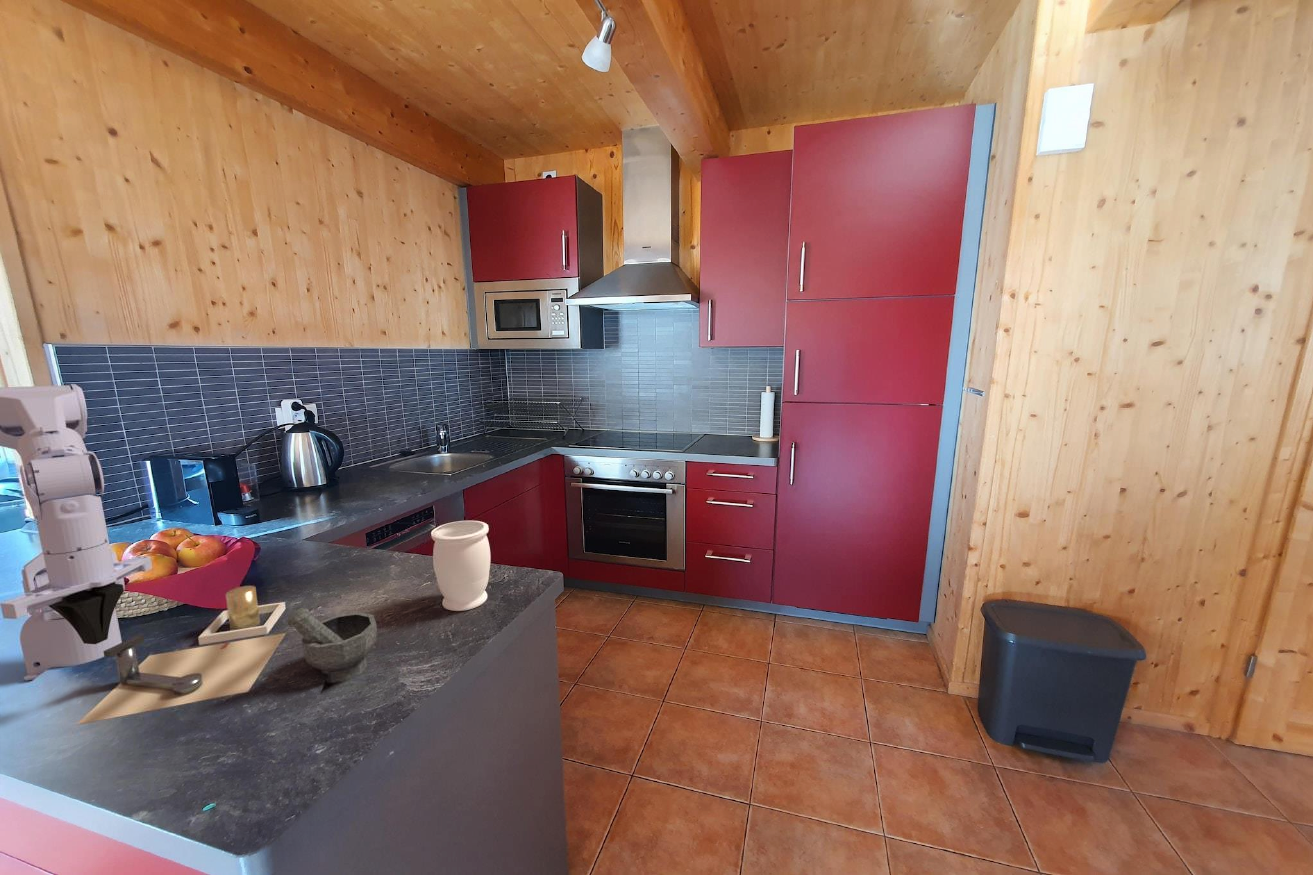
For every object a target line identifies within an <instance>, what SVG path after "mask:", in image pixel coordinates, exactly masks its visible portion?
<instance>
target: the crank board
mask: <svg viewBox="0 0 1313 875" xmlns="http://www.w3.org/2000/svg"><path fill="white" fill-rule="evenodd" d="M286 634H287V633H286V632H284V633H279V634H272V635H266V636H259V637H254V638H249V639H242V640H237V641H236V640H235V641H230V642H225V643H224V642H223V643H216V644H212V645H206V646H199V647H195V648H194V647H193V648H192V647H191V648H188V649H187V648H186V649H181V650H176V651H175V650H174V651H169V652H164V653H156V654H149V655H148V656H147V657H146V658H145V659H144V660H143V661H142V662H141V663H140V664H138V666H139V672H141V673H149V674H158V675H166V676H174V677H183V676H186V675H189V674H193V673H200V674H201V675H202V681H203V684H202V685H201V686H200V687H199V688H198V689H196V690H194V691H192V692H189V693H186V694H181V695H176V694H174V691H173V690H168V689H160V688H152V687H144V686H136V685H128V684H127V685H121V684H120V683H118V685H116V686H115V687H114V688H113V689H112V690H111V691H110V692H109V693H108V694H107V695H106V696H105V697H104V698H103V699H102V700H100V701H99V703H98V704H96V705H95V706H94V707H93V708H92V709H91V710H90V711H88V712H87V714H86V715H85V716H83V717H82V718H81V719H80V720H79V721H78V722H77V723H76V724H75V726H79V725H84V724H89V723H95V722H99V721H104V720H110V719H114V718H120V717H121V718H122V717H125V716H130V715H137V714H140V713H145V712H146V713H147V712H151V711H156V710H161V709H166V708H171V707H176V706H181V705H187V704H193V703H197V702H203V701H207V700H212V699H218V698H223V697H227V696H229V697H230V696H233V695H239V694H242V693H248V692H249V691H250V689H251V688H252V686H253V685H254V683H255V682H256V680H257V679H258V677H259V676H260V675H261V673H262V671H263V669H264V668H265V666H266V665H267V663H268V662H269V661H270V659H271V657H272V656H273V654H274V652H275V651H276V649H277V648H278V646H279V645H280V644H281V642H282V640H283V638H284V637H285V636H286Z"/></svg>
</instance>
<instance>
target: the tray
mask: <svg viewBox="0 0 1313 875" xmlns="http://www.w3.org/2000/svg"><path fill="white" fill-rule="evenodd" d="M258 610H259V615H261V614H267V613H268V614H269V613H271V615H270V616H269V618H268V619H267V620H266V622H265V623H264V624H263V625H259V626H258V625H257V626H256V627H251V628H245V629H238V630H232V631H231V630H227V631H219V632H217V631H218V630H219V628H220V627H221V626H222V625H223V624H224V623H225V622H226V621H227V620H229V615H228V609H227V610H223V611H222V612H221V613H220V614H219V615H218V616H217V617H216V618H215V619H214V620H213V621H212V622H211V623H210V624H209V625H208V626H207V628H205V630H204V631H203V632H202V633H201V634H200V635H199V636H198V637H197V638H198V645H199V646H202V645H209V644H213V643H214V644H215V643H221V642H227V641H233V640H240V639H245V638H250V637H257V636H264V635H268V634H269V633H270V631H272V628H273V627H274V626H275V624H276V623H277V622H278V620H279V619H280V617H281V616H282V615H283V613H284V612H285V610H286V601H284V602H283V601H282V602H274V603H270V604H269V603H267V604H261V605H258Z"/></svg>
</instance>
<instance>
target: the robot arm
mask: <svg viewBox="0 0 1313 875" xmlns="http://www.w3.org/2000/svg"><path fill="white" fill-rule="evenodd" d="M84 394H85V393H84V391H83V389H82V387H80V386H78V385H77V383H76V384H75V383H71V384H70V385H69V384H68V385H67V384H66V385H36V386H8V387H7V386H2V387H0V447H4V448H6V449H7V448H8V449H13V450H15V451H16V452H17V453H18V455H19V456H20V459H21V462H22V464H21V465H20V468H19V473H20V477H21V478H20V479H21V483H22V487H23V492H24V495H25V499H26V501H27V502H28V504H29V506H30V508H31V511H32V512H31V513H32V516H33V518H34V520H36V526H37V527H36V528H37V531H38V537H39V540H40V547H41V550H42V552H41V553H39V554H38V555H36V556H35V557H34V558H33V559H31V560H30V561H28V562H27V563H26V564H25V565H24V566H23V569H21V576H22V581H21V582H22V587H23V592H24V594H21V595H19V596H16V597H14V598H12V599H8V600H6V601H3V602H1V603H0V609H1V614H2V618H3V619H8V620H9V619H10V620H19V619H21V618H24V617H27V616H28V614H29V617H28V618H27V619H26V620H25V621H24V623H23V624H22V626H21V630H20V632H19V634H20V636H19V641H20V647H21V651H22V655H23V659H24V664H25V669H26V672H27V675H25V676H24V677H23V681H32V680H36V679H38V677H40V676H41V675H42V674H43V673H45V672H46V671H48V670H49V669H50V668H51V669H52V668H59V667H60V668H63V667H67V668H68V667H73V666H78V665H82V664H86V663H87V664H88V663H90V662H93V661H96V660H99V659H102V658H103V657H104V652H103V651H105V650H107V649H109V648H111V647H114V646H116V645H118V644H120V643H122V642H123V640H122V635H121V631H120V626H119V625H120V624H119V620H118V614H117V611H116V610H117V609H116V607H117V604H118V601H119V600H120V598H121V596H122V595H123V594H124V591H125V589H126V587H125V579H124V578H127V577H130V576H132V575H135V574H137V573H140V572H142V573H143V572H144V573H145V572H148V571H150V570H153V564H152V558H151V556H143V555H139V556H136V557H132V558H128V559H125V560H122V561H119V560H118V556H117V554H116V551H115V550H113V548H112V547H111V545H110V544H111V543H110V539H109V536H108V534H109V533H108V530H107V529H108V528H107V524H106V519H105V513H104V507H103V502H102V497H101V496H103V495H104V491H105V479H104V473H103V469H102V465H101V462H100V461H99V459H98V457H97V455H96V454H95V452H93V451H91V450H90V451H89V450H87V448H86V444H85V443H84V440H83V439H85V438H86V432H88V424H87V420H88V410H87V404H86V398H85V395H84ZM96 492H99V494H100V495H101V496H100V495H98V494H97V493H96ZM104 658H105V657H104Z"/></svg>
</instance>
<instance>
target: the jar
mask: <svg viewBox="0 0 1313 875" xmlns="http://www.w3.org/2000/svg"><path fill="white" fill-rule="evenodd" d="M489 530H490V528H489V524H487V523H486V522H484V521H479V520H459V521H453V522H448V523H445V524H441V525H439V526H437V527H436V528H434V529H433V530H432V531H431V535H430V536H431V539H432V540H433V541H434V544H433V553H432V562H433V570H434V574H435V577H436V581H437V585H438V588H439V591H440V593H441V594H442V596H443V599H442V604H441V605H442V606H443V608H444V609H446V610H449V611H453V612H462V611H468V610H472V609H474V608H477V607H479V606H481V605H483V604H484V603H485V602H486V601H487V599H488V593H487V591H486V588H487V586H488V583H489V578H490V570H491V548H490V543H489V539H488V536H487V534H488V533H489Z"/></svg>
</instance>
